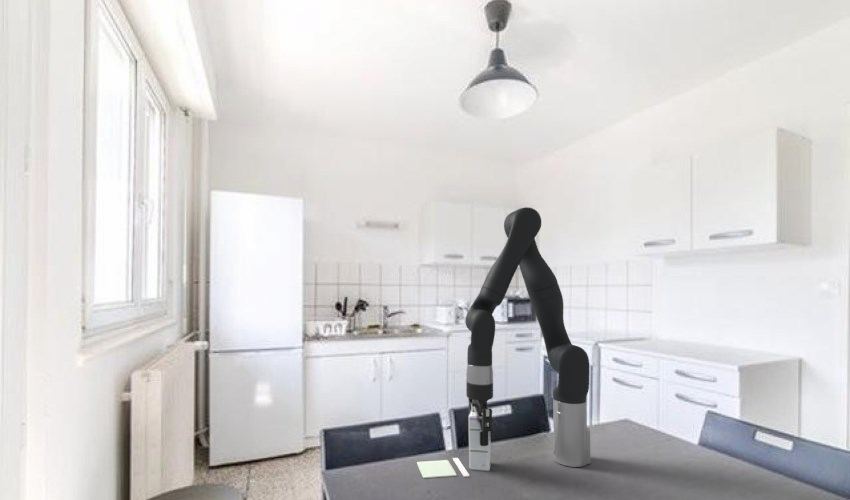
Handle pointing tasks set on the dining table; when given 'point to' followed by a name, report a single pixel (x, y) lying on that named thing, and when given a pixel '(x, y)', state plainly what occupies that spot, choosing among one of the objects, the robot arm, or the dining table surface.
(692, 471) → the dining table surface
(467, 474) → the white line strip
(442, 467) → the mat
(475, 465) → the syrup box
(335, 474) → the dining table surface
